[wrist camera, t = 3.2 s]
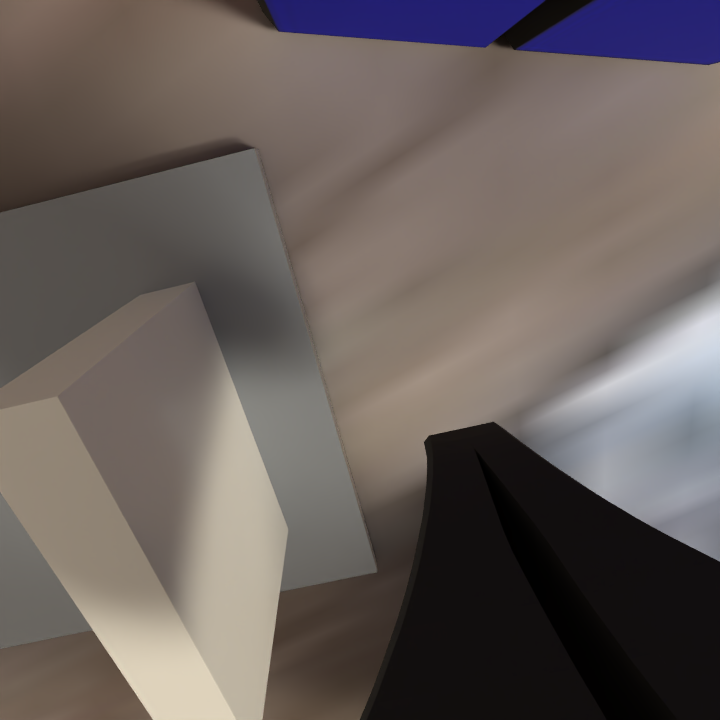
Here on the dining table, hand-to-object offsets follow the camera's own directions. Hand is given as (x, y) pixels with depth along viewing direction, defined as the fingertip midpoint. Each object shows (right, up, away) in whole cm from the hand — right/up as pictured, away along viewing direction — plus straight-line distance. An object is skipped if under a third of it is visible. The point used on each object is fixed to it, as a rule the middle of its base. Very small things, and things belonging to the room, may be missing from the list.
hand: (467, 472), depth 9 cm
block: (-6, 0, +4) cm, 7 cm away
